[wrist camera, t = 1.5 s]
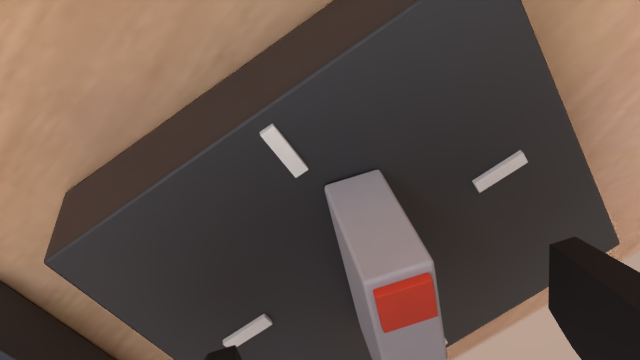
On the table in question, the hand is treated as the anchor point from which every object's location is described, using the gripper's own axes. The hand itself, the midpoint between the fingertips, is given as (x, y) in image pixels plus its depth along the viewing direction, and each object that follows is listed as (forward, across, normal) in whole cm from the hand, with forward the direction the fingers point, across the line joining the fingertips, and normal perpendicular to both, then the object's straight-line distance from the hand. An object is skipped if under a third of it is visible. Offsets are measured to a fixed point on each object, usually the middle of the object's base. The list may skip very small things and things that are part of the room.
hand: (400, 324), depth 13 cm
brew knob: (+3, 0, 0) cm, 3 cm away
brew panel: (+6, 0, 0) cm, 6 cm away
